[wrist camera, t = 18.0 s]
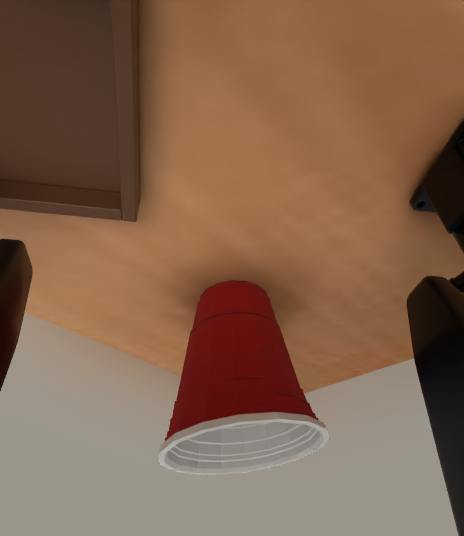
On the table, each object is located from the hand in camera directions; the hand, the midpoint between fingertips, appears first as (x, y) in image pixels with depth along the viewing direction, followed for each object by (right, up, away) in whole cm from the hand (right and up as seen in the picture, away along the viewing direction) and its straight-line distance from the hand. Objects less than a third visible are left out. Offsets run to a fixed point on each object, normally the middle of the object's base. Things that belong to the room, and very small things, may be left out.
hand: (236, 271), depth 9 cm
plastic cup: (0, -3, +23) cm, 23 cm away
